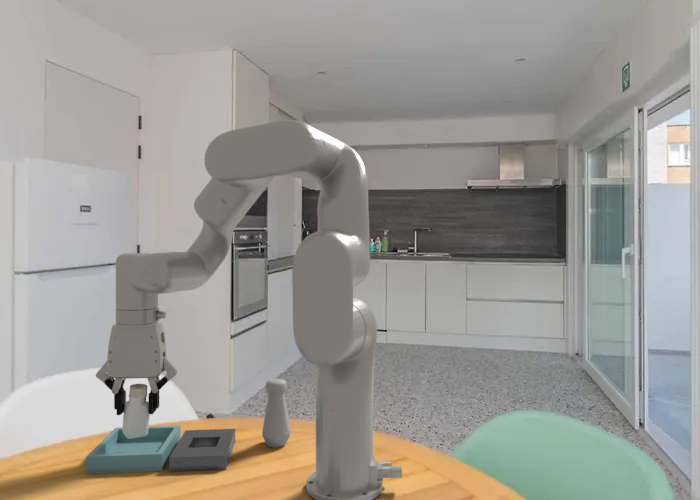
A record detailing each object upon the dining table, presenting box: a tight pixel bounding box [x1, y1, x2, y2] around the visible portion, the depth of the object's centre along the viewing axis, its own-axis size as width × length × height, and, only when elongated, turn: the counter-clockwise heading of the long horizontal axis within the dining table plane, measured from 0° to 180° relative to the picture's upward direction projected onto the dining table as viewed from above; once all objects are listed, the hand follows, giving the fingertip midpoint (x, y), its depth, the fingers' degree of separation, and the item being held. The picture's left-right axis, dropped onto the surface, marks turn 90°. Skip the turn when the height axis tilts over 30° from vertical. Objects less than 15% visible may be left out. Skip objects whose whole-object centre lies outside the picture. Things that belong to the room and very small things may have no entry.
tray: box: [85, 425, 182, 475], centre depth 101 cm, size 13×15×3 cm
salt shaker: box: [261, 378, 291, 449], centre depth 107 cm, size 6×6×13 cm
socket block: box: [168, 428, 236, 473], centre depth 102 cm, size 10×14×2 cm
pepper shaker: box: [122, 383, 151, 439], centre depth 101 cm, size 4×4×10 cm
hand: (137, 411), depth 101 cm, fingers closed on pepper shaker, 5 cm apart
